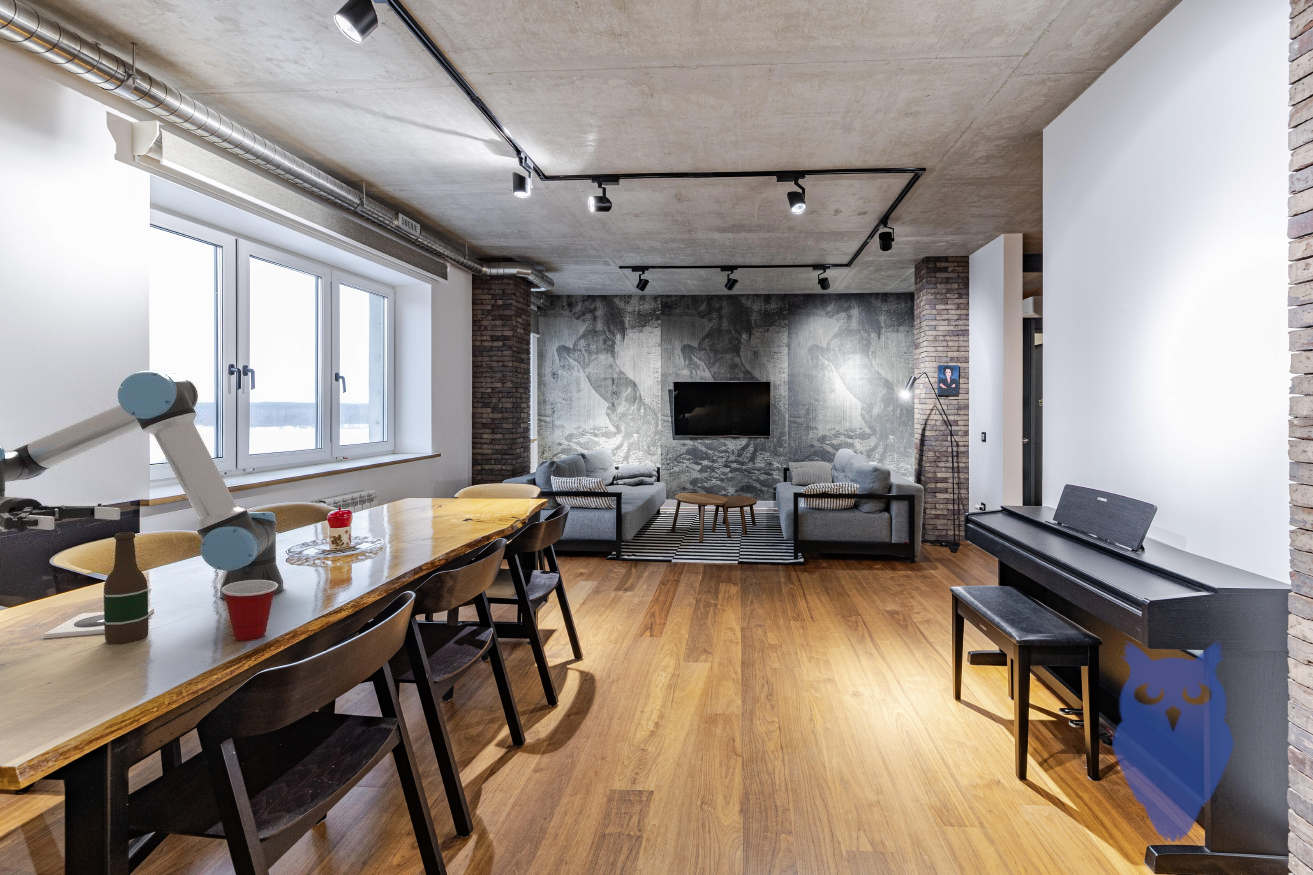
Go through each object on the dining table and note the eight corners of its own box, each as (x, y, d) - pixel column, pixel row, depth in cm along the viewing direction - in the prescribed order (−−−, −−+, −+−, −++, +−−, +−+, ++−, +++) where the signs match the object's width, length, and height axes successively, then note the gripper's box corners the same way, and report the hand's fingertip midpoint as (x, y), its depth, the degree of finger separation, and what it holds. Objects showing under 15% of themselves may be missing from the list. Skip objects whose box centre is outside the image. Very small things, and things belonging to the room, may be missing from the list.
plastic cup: (251, 647, 135) (250, 593, 134) (209, 643, 137) (208, 589, 136) (290, 630, 145) (289, 580, 145) (251, 627, 148) (250, 577, 147)
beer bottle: (157, 634, 142) (155, 531, 141) (118, 646, 134) (116, 537, 134) (134, 630, 144) (132, 528, 143) (95, 642, 137) (92, 534, 136)
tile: (154, 611, 158) (154, 607, 158) (125, 631, 144) (125, 626, 144) (81, 617, 153) (80, 612, 153) (43, 638, 139) (43, 633, 139)
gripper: (73, 521, 157) (142, 525, 153) (-57, 539, 132) (20, 545, 128) (73, 491, 156) (142, 495, 152) (-58, 504, 132) (20, 509, 128)
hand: (87, 518), depth 140 cm, fingers open, 13 cm apart
